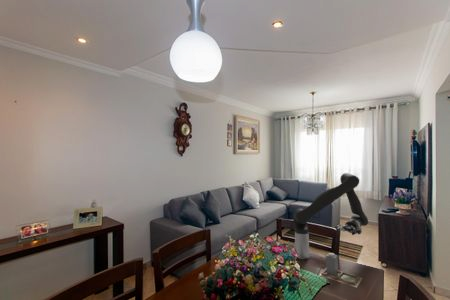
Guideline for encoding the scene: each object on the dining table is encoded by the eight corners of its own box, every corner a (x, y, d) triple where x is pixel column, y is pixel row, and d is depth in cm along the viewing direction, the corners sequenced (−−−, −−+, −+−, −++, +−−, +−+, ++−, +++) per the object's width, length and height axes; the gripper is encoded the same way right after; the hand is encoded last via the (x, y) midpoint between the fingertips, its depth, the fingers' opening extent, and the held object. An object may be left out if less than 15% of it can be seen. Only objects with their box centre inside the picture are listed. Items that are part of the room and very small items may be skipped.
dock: (318, 276, 137) (318, 272, 137) (326, 268, 146) (326, 265, 146) (356, 288, 124) (356, 285, 124) (362, 279, 132) (362, 276, 132)
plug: (326, 274, 138) (325, 254, 138) (329, 271, 141) (328, 251, 142) (335, 277, 134) (334, 256, 134) (338, 274, 138) (337, 253, 138)
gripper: (341, 218, 162) (332, 223, 150) (364, 221, 152) (357, 228, 140) (341, 229, 161) (333, 235, 150) (365, 233, 152) (358, 240, 140)
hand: (345, 231), depth 145 cm, fingers open, 8 cm apart
